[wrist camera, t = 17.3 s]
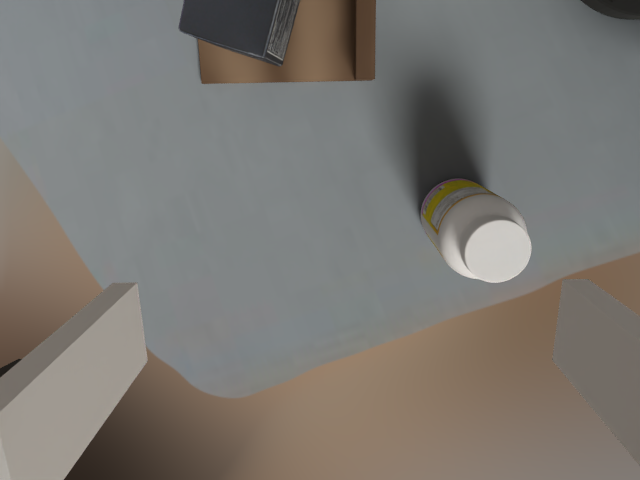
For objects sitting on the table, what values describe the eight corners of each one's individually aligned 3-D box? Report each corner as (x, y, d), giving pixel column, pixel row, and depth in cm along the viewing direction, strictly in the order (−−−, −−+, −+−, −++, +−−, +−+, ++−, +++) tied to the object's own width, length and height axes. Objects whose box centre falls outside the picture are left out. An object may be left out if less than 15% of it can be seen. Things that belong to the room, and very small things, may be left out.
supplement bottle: (492, 239, 47) (548, 289, 35) (423, 250, 47) (455, 303, 35) (486, 170, 45) (544, 198, 33) (415, 182, 46) (445, 214, 33)
